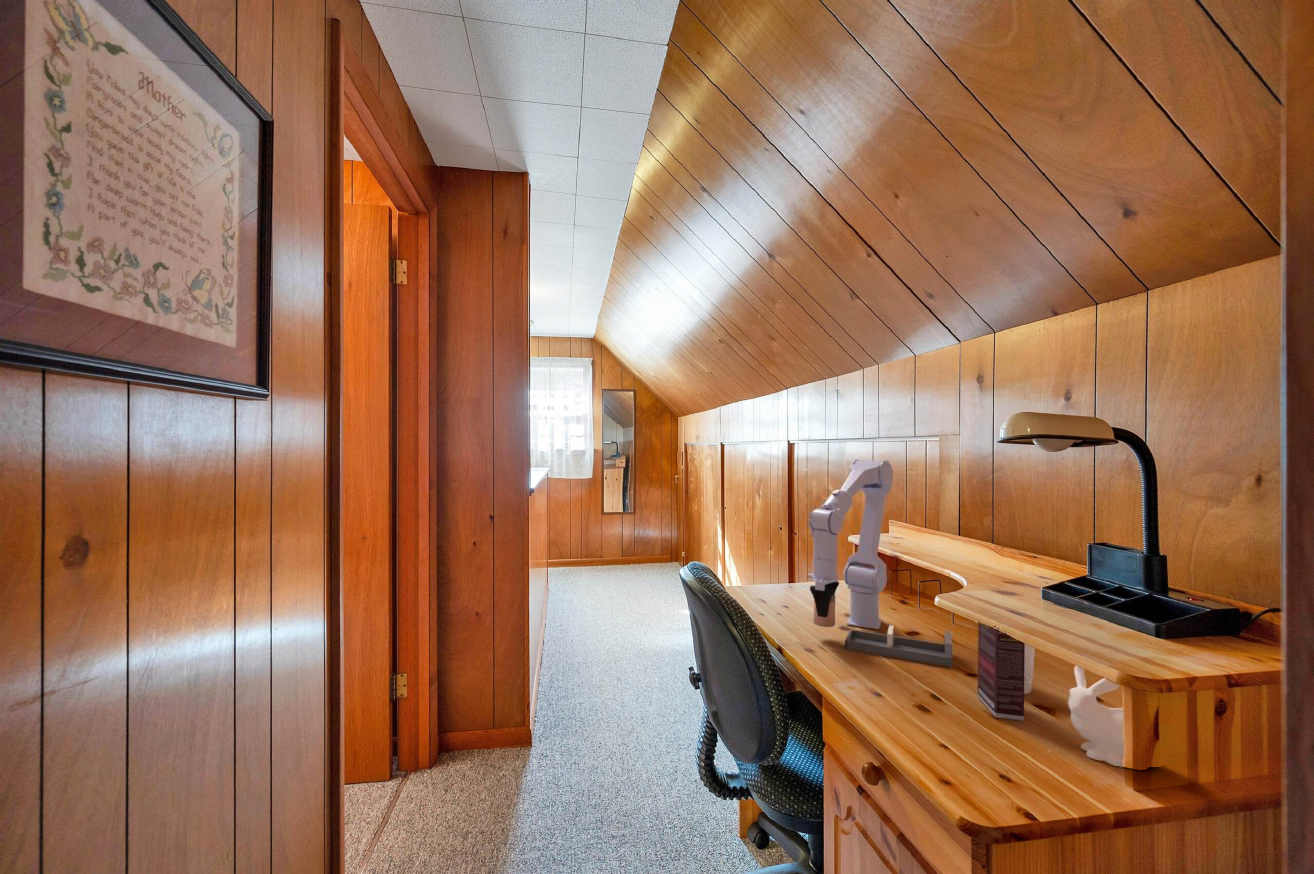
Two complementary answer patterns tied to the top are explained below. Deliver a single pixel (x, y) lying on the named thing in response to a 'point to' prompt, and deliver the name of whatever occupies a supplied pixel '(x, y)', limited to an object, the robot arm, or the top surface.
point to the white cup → (1028, 668)
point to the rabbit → (1097, 720)
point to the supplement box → (1001, 673)
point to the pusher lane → (902, 647)
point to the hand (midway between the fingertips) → (824, 613)
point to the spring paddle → (890, 636)
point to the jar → (828, 620)
